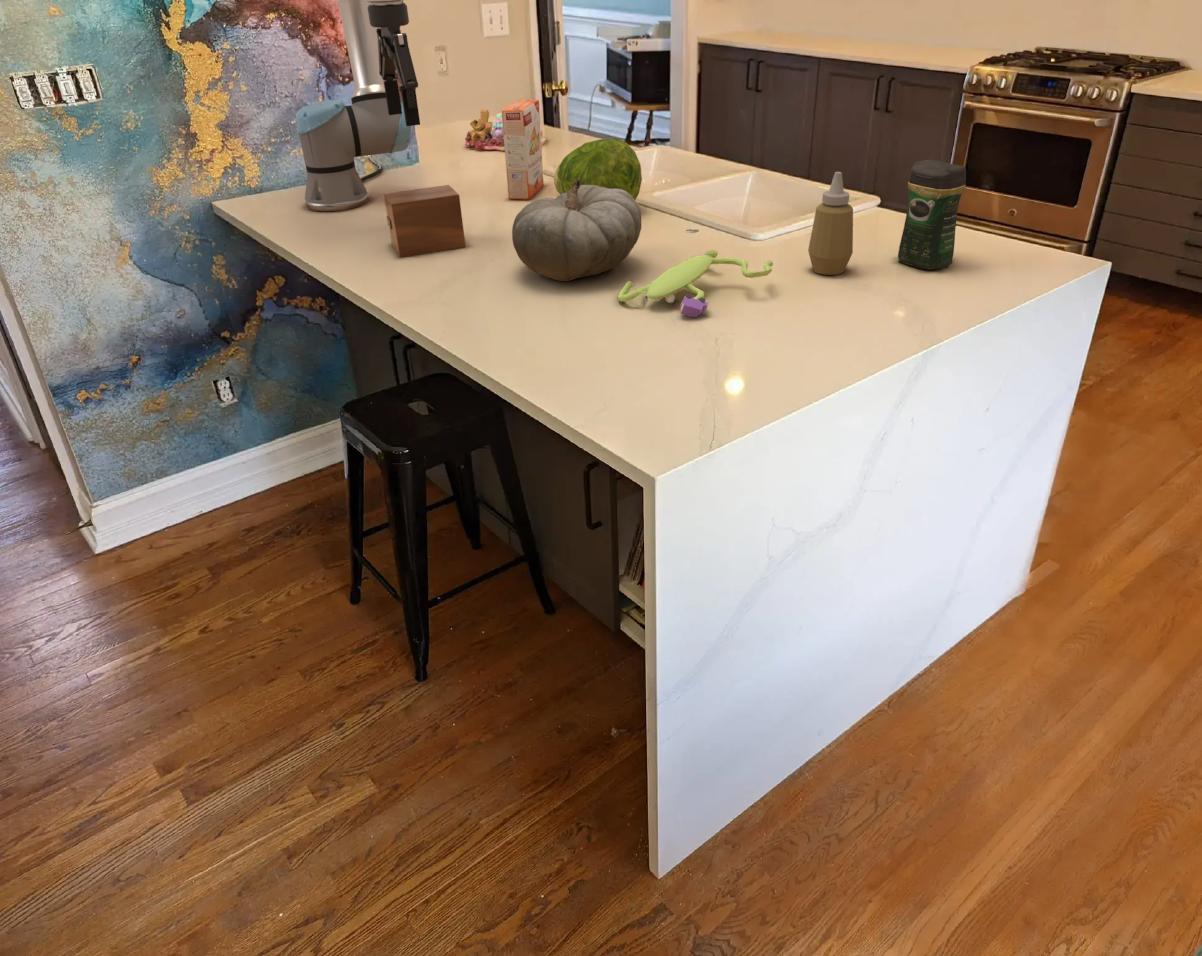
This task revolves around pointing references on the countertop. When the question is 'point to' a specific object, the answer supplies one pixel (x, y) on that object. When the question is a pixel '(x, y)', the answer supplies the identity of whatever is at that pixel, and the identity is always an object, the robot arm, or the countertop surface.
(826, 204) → the squeeze bottle
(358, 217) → the countertop surface
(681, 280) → the figurine
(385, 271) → the countertop surface
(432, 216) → the wooden storage crate
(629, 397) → the countertop surface
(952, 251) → the coffee jar
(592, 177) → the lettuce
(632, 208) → the gourd
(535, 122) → the cracker box
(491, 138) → the coral reef ornament
